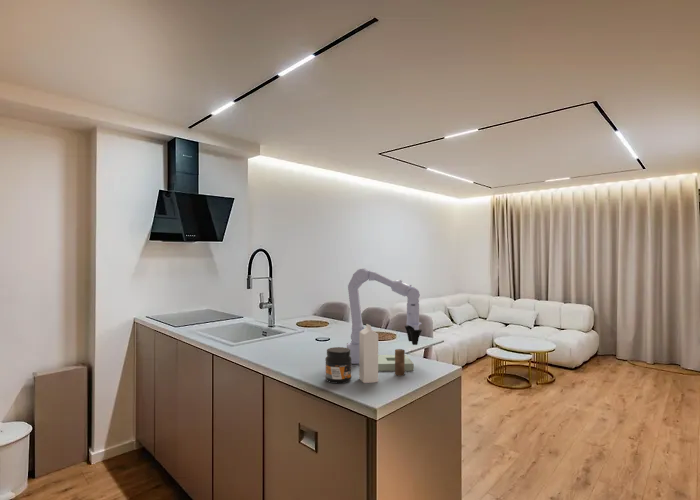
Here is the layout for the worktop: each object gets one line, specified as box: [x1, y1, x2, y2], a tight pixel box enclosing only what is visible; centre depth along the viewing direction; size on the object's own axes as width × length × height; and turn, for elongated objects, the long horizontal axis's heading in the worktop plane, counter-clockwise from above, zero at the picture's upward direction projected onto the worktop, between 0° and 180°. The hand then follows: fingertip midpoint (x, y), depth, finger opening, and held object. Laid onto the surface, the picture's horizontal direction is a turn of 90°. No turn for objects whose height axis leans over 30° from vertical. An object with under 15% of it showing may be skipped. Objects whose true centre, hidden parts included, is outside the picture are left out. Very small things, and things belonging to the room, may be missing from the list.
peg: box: [394, 348, 406, 377], centre depth 156 cm, size 4×4×10 cm
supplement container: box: [324, 346, 352, 384], centre depth 148 cm, size 10×10×12 cm
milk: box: [358, 323, 379, 384], centre depth 148 cm, size 6×6×22 cm
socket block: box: [378, 354, 414, 372], centre depth 169 cm, size 16×16×3 cm
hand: (412, 342), depth 172 cm, fingers open, 7 cm apart
